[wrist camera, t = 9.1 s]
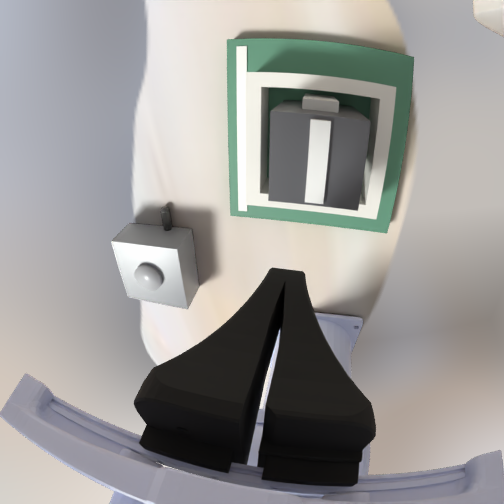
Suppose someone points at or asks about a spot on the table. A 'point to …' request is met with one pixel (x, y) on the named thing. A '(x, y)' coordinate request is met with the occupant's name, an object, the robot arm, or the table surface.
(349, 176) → the plug
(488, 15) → the cable organizer
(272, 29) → the table surface
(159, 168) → the table surface
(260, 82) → the board
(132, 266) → the gray button box
